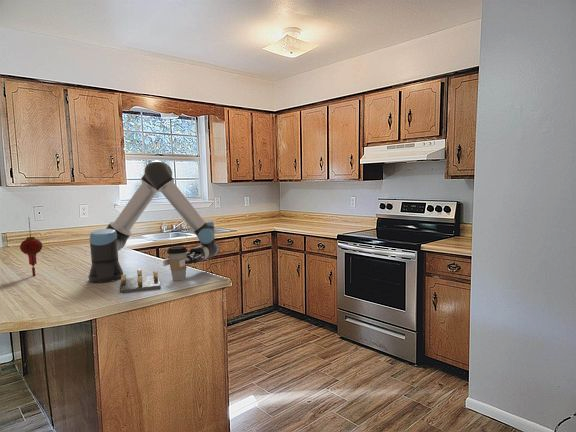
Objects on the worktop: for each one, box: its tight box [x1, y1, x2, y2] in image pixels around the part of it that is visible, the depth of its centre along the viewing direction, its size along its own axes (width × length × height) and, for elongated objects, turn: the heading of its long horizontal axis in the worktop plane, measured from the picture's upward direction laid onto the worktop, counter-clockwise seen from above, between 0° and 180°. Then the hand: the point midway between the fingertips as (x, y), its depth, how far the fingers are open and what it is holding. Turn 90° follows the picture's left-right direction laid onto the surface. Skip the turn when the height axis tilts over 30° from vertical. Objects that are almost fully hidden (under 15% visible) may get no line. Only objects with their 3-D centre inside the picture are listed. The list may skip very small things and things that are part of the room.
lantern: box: [19, 216, 43, 277], centre depth 192 cm, size 10×10×30 cm
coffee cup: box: [166, 245, 189, 282], centre depth 177 cm, size 9×9×15 cm
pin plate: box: [119, 269, 161, 295], centre depth 169 cm, size 20×16×6 cm
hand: (172, 263), depth 173 cm, fingers closed on coffee cup, 8 cm apart
